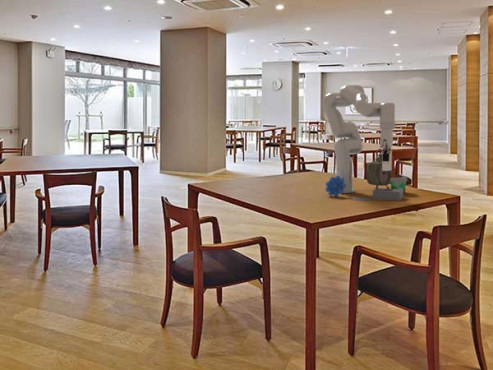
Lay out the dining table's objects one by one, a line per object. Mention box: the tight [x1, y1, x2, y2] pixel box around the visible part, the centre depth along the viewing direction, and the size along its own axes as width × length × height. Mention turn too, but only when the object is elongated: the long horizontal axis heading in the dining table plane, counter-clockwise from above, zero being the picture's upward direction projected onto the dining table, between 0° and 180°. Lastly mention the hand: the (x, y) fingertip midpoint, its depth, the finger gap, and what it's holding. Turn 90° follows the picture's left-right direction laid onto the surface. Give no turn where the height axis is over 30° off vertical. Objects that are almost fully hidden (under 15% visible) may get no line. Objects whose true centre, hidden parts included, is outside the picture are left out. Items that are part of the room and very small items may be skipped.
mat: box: [351, 196, 374, 202], centre depth 266 cm, size 10×10×1 cm
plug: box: [381, 149, 393, 171], centre depth 262 cm, size 4×4×10 cm
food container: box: [390, 175, 408, 195], centre depth 279 cm, size 12×6×10 cm, turn 129°
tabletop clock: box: [366, 148, 394, 190], centre depth 294 cm, size 14×9×25 cm, turn 129°
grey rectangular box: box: [372, 187, 404, 202], centre depth 265 cm, size 14×10×5 cm
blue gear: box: [325, 176, 346, 197], centre depth 280 cm, size 12×7×12 cm, turn 68°
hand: (386, 160), depth 262 cm, fingers closed on plug, 4 cm apart
